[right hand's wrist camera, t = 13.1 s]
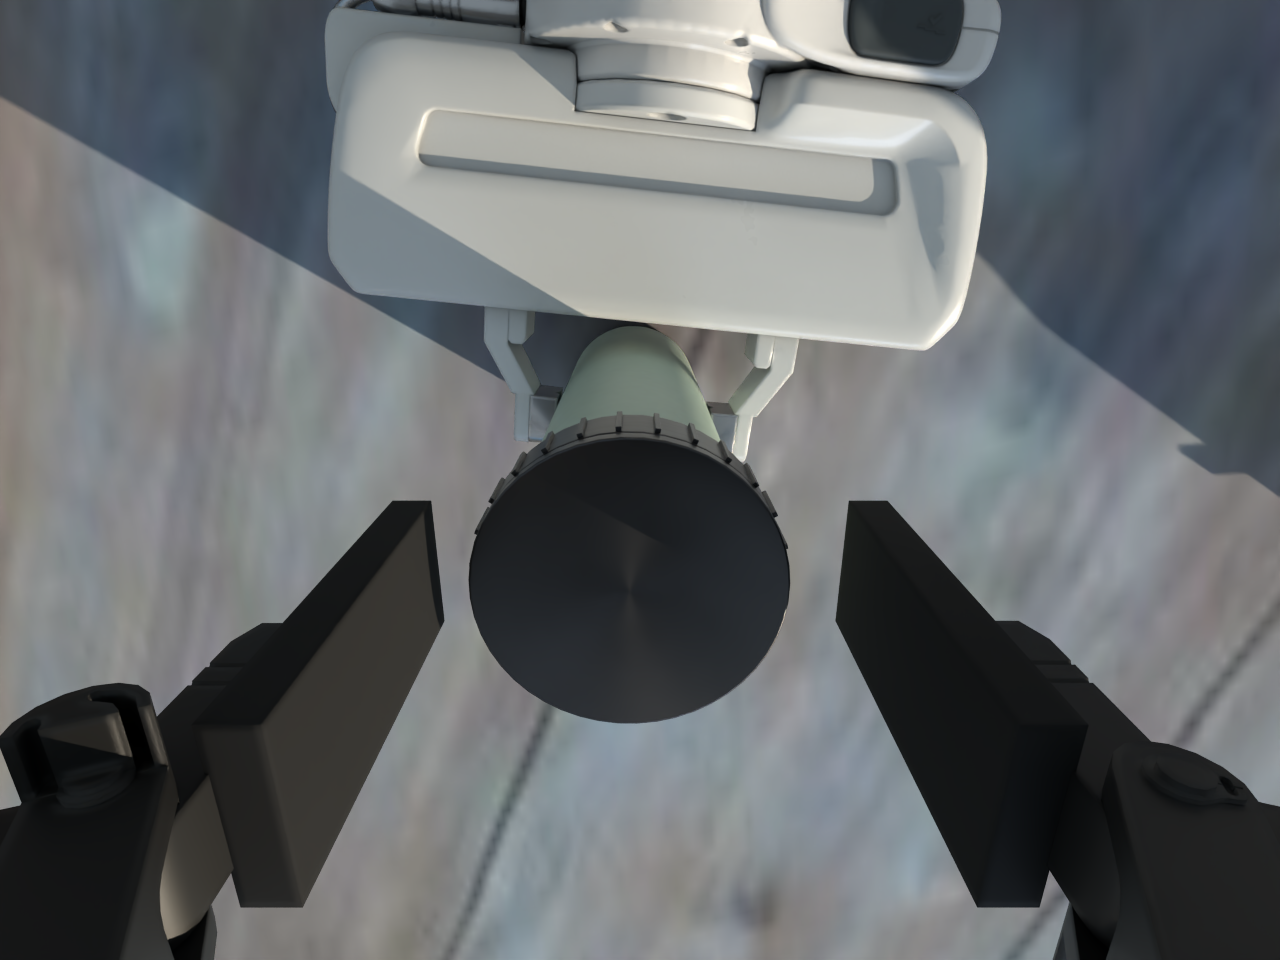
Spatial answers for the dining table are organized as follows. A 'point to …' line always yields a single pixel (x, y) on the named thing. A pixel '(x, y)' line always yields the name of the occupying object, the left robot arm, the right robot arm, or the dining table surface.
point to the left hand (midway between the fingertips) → (631, 447)
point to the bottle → (633, 382)
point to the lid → (629, 570)
